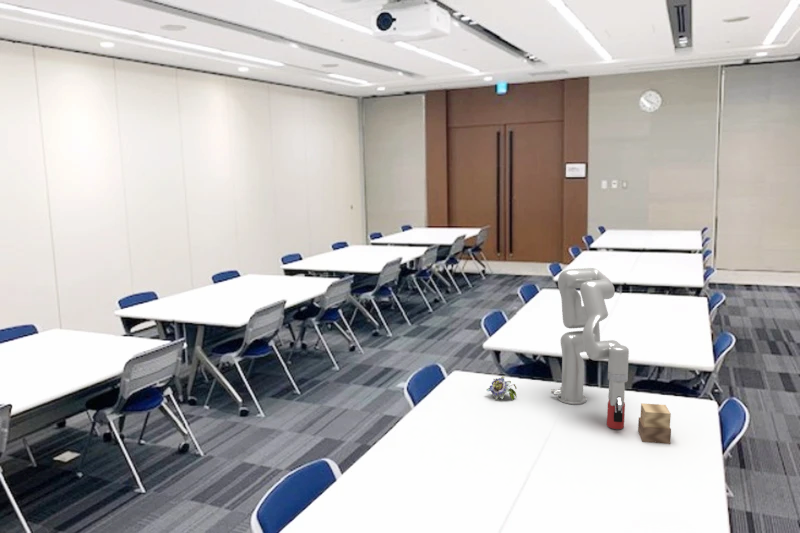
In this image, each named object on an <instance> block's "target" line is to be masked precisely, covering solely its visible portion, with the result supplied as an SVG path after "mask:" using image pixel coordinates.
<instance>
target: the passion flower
mask: <svg viewBox="0 0 800 533" xmlns="http://www.w3.org/2000/svg"><path fill="white" fill-rule="evenodd" d="M510 384H511V385H510ZM511 386H514V388H515V390H517V386H516V384H515V383H513V384H512V381H511V380H507V381H505V376H504V375H502V376H501V377H499V378H497V377H496V378H493V381H492V382H491V385H489V387H488V388H486V391H487V392H490V393H492V394H491V398H494V400H495V401H498V400H499V398H500V399H501V400H503V399H504V398H505V395H506V394H509V397H510V399H511V400H512V401H515V397H517V393H516V392H517V391H515V390H514V389H513V388H512V387H511Z"/></svg>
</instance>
